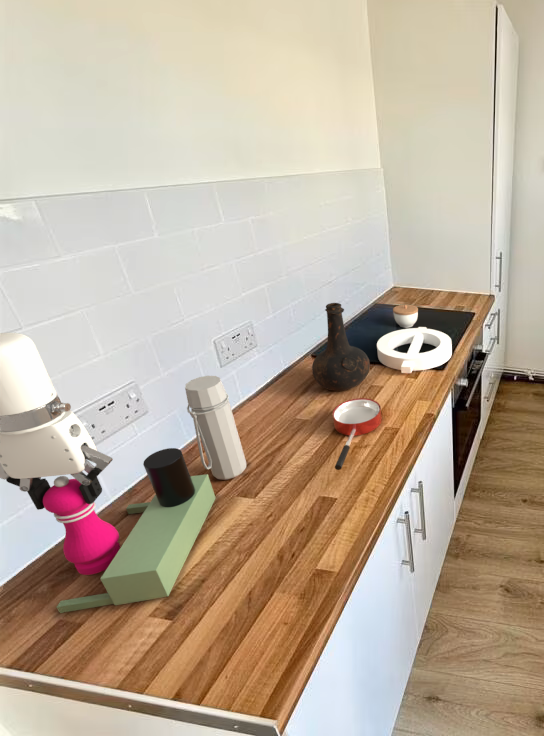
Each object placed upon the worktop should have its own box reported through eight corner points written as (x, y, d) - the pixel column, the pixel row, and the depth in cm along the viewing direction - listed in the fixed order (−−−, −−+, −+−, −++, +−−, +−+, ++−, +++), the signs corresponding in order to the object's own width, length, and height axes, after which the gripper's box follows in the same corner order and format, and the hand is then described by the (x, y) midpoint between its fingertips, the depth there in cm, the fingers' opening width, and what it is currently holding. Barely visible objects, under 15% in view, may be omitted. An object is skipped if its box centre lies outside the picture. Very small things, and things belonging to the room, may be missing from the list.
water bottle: (229, 458, 109) (203, 372, 98) (255, 465, 107) (232, 378, 96) (197, 483, 101) (165, 392, 90) (224, 490, 99) (195, 398, 88)
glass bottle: (326, 404, 133) (312, 320, 121) (307, 380, 145) (292, 301, 133) (380, 386, 144) (373, 307, 132) (358, 366, 156) (349, 292, 143)
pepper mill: (63, 571, 77) (15, 487, 69) (106, 540, 84) (67, 459, 75) (94, 582, 76) (50, 497, 67) (135, 549, 83) (100, 468, 74)
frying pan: (380, 480, 105) (378, 460, 102) (322, 488, 102) (319, 467, 99) (382, 408, 132) (380, 390, 130) (337, 412, 129) (334, 394, 126)
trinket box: (405, 318, 199) (404, 299, 195) (423, 324, 194) (422, 304, 190) (388, 325, 190) (387, 305, 186) (407, 331, 186) (406, 311, 181)
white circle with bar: (405, 378, 149) (404, 366, 147) (363, 351, 166) (362, 340, 164) (466, 355, 168) (466, 344, 166) (423, 333, 185) (423, 322, 183)
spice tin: (153, 509, 85) (136, 470, 80) (167, 487, 90) (152, 449, 86) (188, 505, 86) (173, 466, 82) (200, 484, 91) (186, 446, 87)
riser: (58, 615, 73) (40, 588, 69) (132, 508, 93) (121, 484, 90) (168, 596, 76) (156, 570, 73) (215, 498, 97) (207, 474, 94)
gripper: (109, 395, 71) (141, 479, 79) (-25, 403, 67) (24, 491, 75) (80, 421, 65) (119, 510, 73) (-69, 432, 60) (-11, 525, 68)
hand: (70, 499), depth 74 cm, fingers closed on pepper mill, 6 cm apart
